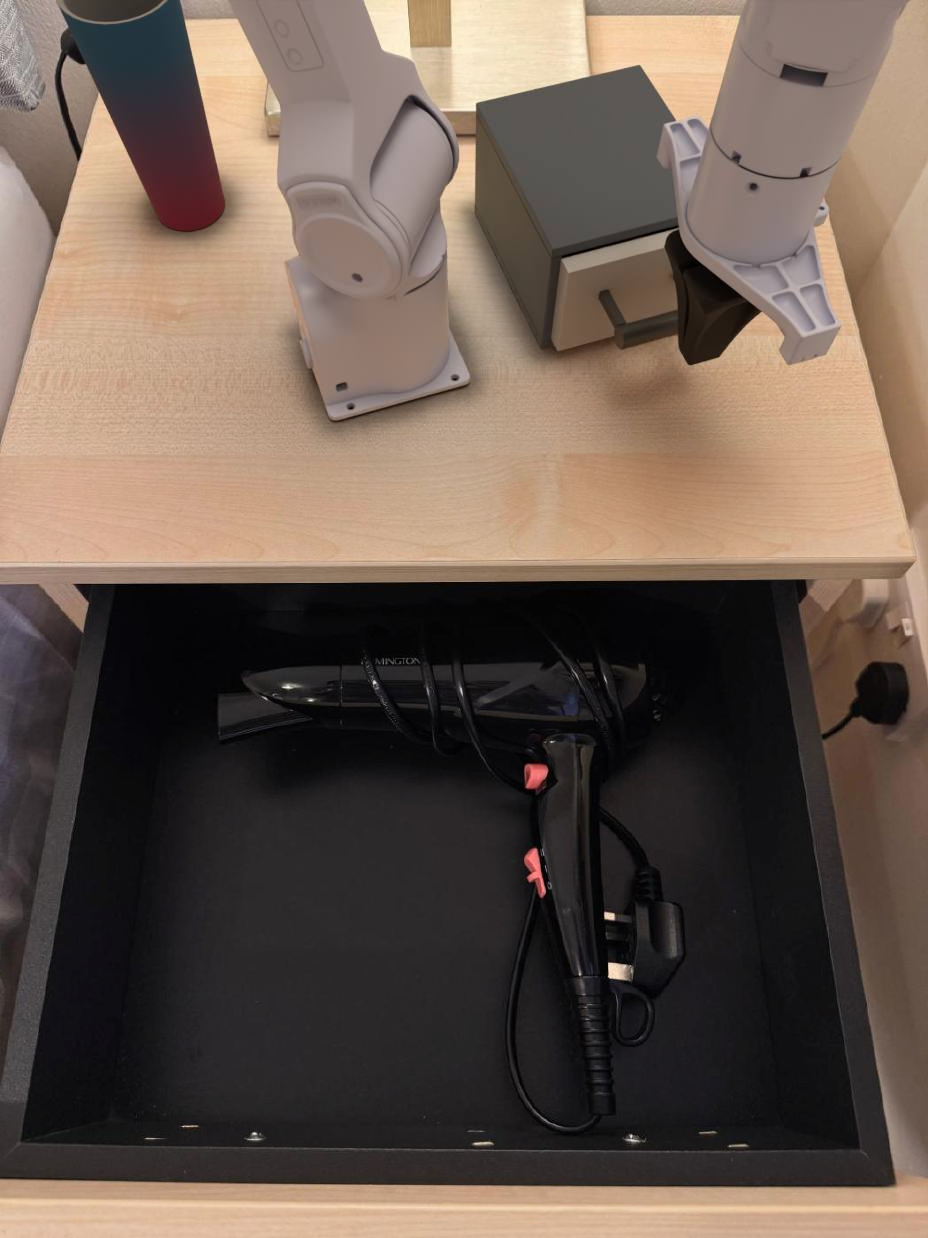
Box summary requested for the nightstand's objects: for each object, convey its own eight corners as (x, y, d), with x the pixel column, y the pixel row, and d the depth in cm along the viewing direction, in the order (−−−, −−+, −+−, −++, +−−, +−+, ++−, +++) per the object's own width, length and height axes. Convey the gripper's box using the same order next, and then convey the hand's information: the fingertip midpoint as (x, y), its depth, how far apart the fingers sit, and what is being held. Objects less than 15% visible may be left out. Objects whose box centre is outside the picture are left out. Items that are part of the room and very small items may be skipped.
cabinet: (697, 306, 60) (731, 202, 52) (541, 349, 58) (552, 249, 51) (619, 175, 65) (640, 63, 57) (474, 211, 64) (475, 101, 56)
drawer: (727, 359, 57) (759, 280, 51) (581, 401, 56) (596, 325, 49) (625, 187, 63) (642, 99, 57) (492, 221, 62) (495, 134, 56)
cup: (220, 246, 62) (151, 30, 48) (129, 232, 63) (35, 15, 49) (249, 180, 65) (191, -43, 51) (161, 167, 65) (81, -57, 52)
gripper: (953, 226, 35) (825, 432, 47) (781, 10, 41) (707, 245, 53) (795, 270, 34) (706, 469, 46) (641, 42, 40) (599, 274, 52)
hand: (699, 352), depth 50 cm, fingers closed
